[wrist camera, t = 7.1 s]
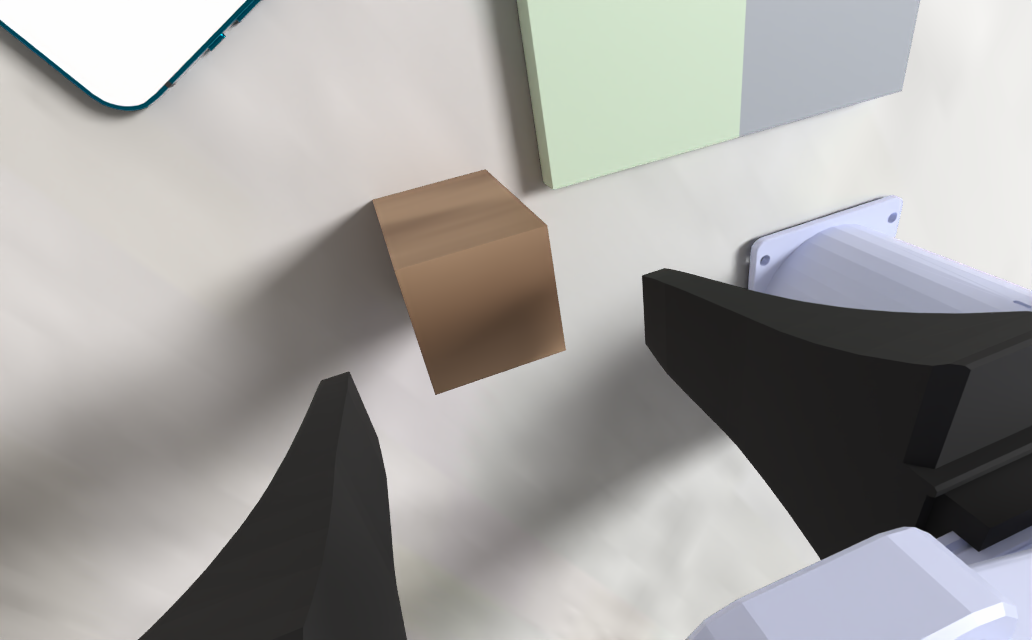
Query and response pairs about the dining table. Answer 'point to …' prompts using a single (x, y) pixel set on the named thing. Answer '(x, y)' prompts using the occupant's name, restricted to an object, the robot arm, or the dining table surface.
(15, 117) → the dining table surface
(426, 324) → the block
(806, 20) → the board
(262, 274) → the dining table surface
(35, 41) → the smartphone
